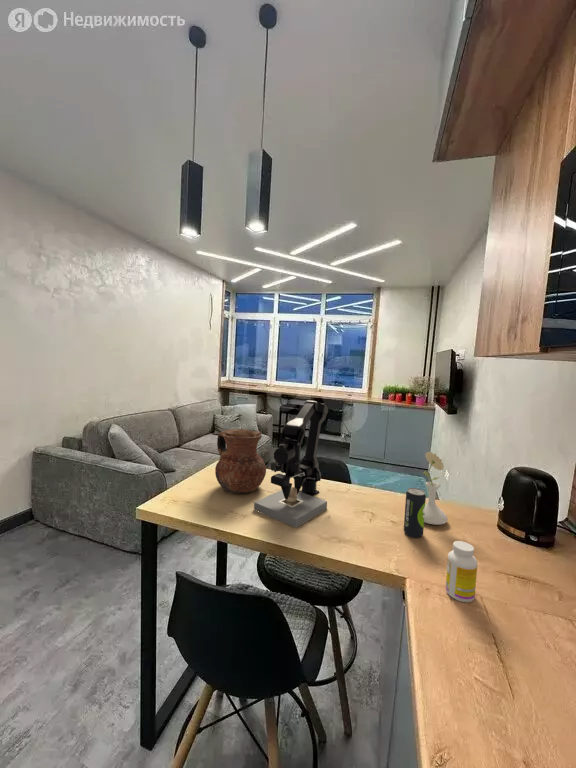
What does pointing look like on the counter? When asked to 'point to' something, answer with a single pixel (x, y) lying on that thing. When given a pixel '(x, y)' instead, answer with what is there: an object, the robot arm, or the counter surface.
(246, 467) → the jug
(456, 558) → the supplement bottle
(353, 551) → the counter surface
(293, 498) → the birch peg
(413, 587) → the counter surface
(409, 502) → the beverage can
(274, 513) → the socket board
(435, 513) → the flower in vase
